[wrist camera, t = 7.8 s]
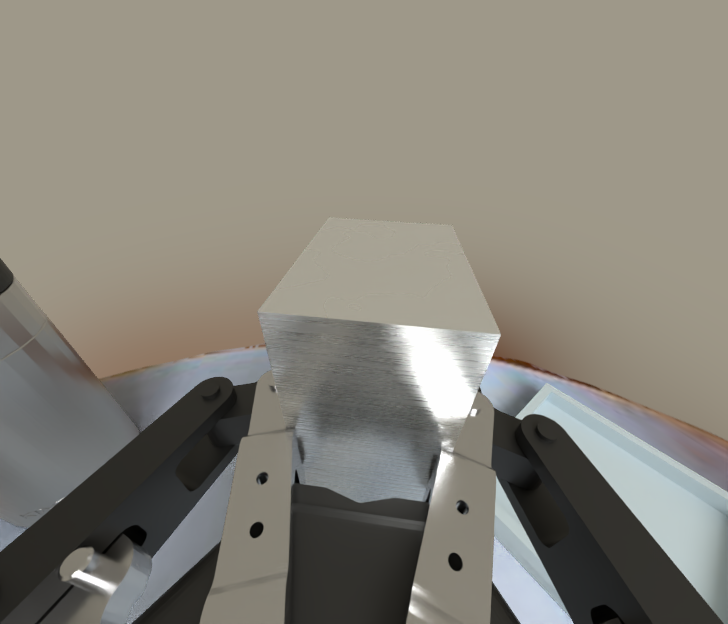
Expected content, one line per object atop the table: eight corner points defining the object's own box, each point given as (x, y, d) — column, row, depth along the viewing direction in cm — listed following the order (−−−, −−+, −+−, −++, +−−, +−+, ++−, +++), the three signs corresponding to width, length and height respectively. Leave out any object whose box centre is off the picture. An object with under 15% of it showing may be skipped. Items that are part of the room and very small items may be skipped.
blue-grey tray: (452, 491, 23) (459, 478, 22) (538, 397, 32) (546, 383, 30) (723, 781, 13) (768, 791, 12) (745, 531, 21) (773, 519, 20)
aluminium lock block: (312, 532, 12) (257, 311, 5) (338, 413, 17) (329, 217, 10) (412, 548, 12) (501, 334, 5) (409, 422, 17) (451, 225, 10)
